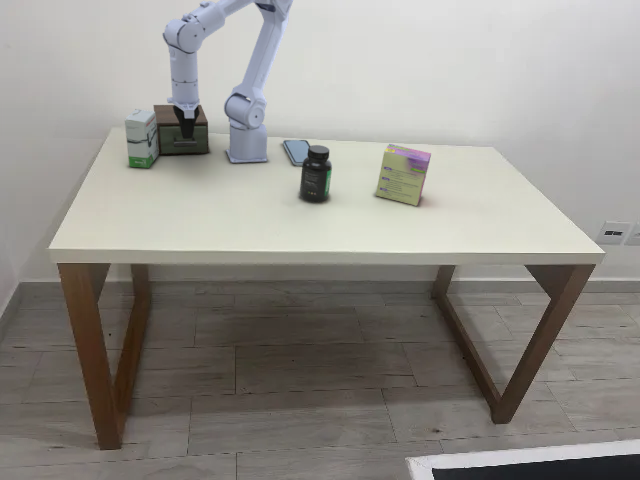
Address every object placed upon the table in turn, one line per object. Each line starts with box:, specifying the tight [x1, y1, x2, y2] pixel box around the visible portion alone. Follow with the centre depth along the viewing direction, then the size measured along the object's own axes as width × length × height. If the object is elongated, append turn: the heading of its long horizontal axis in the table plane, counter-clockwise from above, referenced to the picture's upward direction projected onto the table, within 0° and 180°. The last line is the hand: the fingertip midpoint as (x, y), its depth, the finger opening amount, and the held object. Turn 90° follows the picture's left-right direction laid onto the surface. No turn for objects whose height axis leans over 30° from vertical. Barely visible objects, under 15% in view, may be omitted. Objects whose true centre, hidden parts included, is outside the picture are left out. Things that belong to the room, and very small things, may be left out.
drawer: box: [159, 125, 207, 153], centre depth 130 cm, size 17×11×7 cm
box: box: [375, 143, 432, 207], centre depth 119 cm, size 10×6×12 cm, turn 71°
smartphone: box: [282, 139, 311, 167], centre depth 137 cm, size 7×1×15 cm
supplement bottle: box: [299, 144, 333, 204], centre depth 114 cm, size 7×7×12 cm
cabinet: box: [153, 104, 210, 156], centre depth 133 cm, size 14×13×9 cm
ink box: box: [124, 108, 159, 169], centre depth 121 cm, size 9×5×12 cm, turn 179°
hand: (187, 137), depth 117 cm, fingers closed
